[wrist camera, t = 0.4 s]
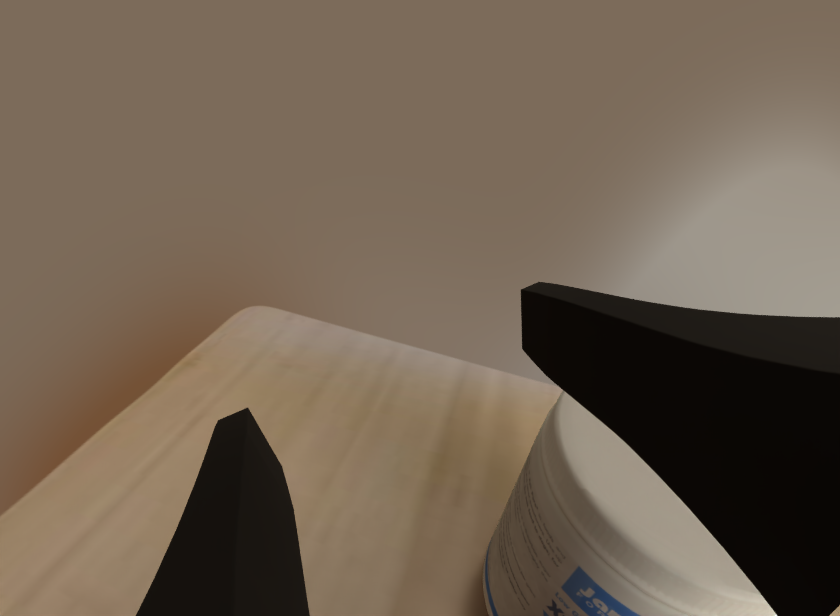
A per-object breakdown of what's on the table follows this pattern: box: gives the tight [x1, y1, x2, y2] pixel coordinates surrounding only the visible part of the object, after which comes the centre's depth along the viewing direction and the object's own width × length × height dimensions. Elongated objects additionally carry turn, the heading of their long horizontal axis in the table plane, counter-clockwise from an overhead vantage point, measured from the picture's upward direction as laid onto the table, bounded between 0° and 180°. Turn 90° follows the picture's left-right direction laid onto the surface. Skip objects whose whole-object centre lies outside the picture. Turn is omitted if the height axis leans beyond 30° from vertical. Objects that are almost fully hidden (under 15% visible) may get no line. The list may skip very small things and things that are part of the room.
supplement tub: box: [483, 390, 777, 616], centre depth 19 cm, size 10×10×15 cm
